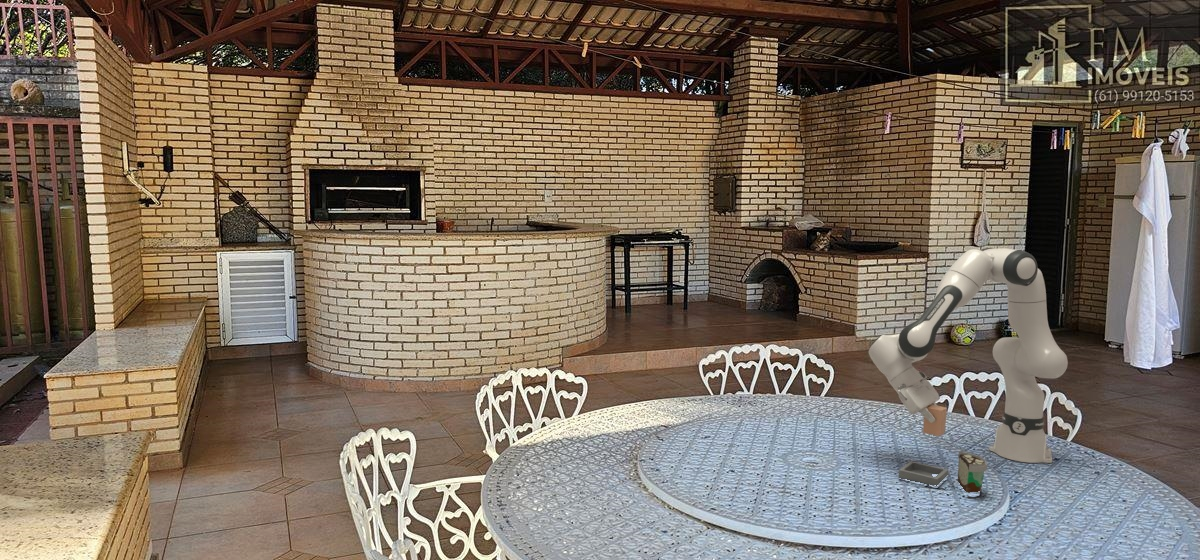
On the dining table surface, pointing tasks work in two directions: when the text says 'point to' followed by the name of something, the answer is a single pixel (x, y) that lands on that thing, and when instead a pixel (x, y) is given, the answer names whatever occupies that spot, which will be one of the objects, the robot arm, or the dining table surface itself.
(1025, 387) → the robot arm
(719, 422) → the dining table surface
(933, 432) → the tan rounded block
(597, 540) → the dining table surface
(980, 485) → the food container
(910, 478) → the tray
